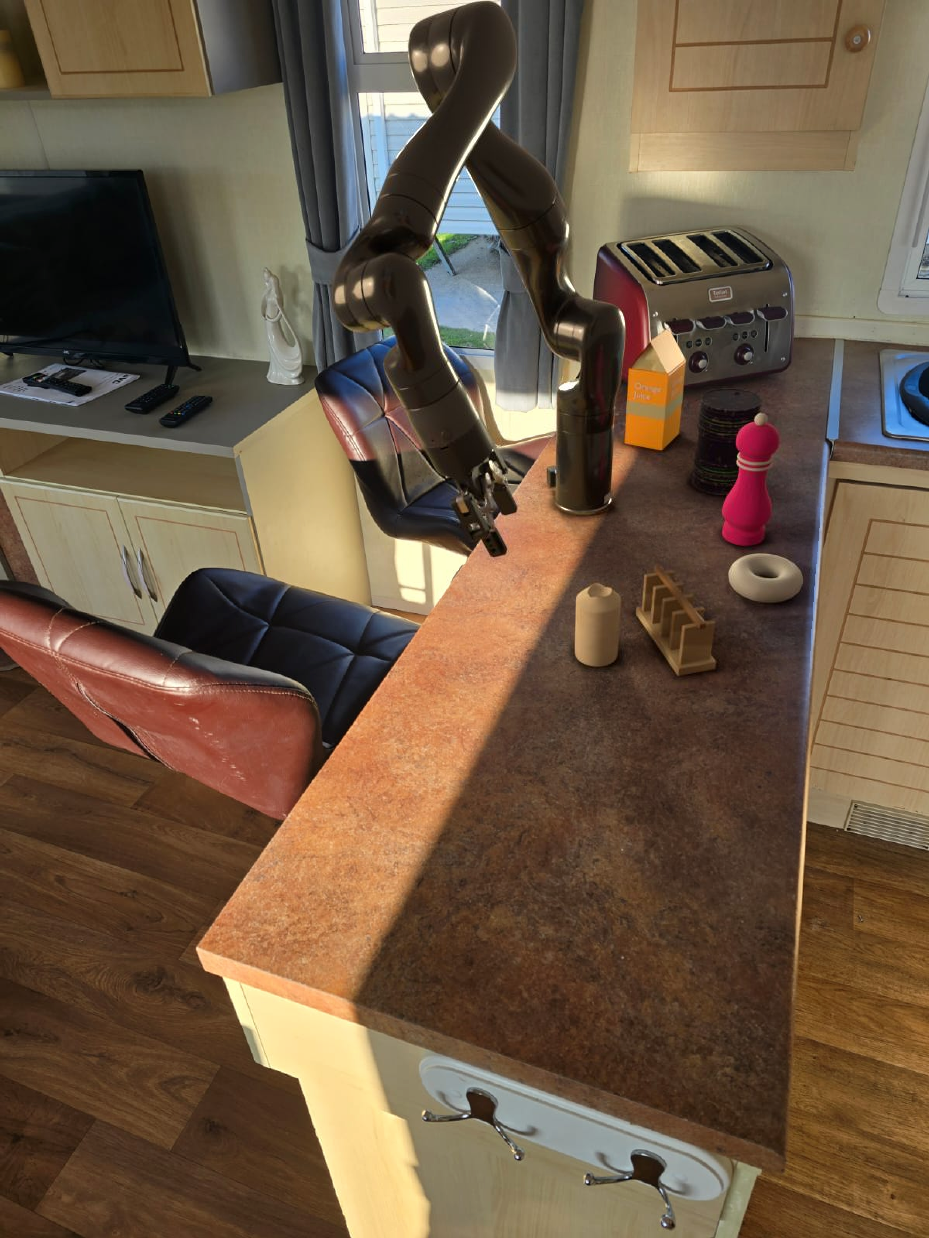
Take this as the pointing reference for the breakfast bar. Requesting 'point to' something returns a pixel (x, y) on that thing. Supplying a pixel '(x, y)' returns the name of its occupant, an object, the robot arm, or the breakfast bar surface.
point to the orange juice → (655, 394)
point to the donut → (754, 587)
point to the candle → (597, 625)
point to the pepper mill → (751, 484)
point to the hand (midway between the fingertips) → (505, 533)
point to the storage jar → (721, 437)
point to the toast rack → (676, 623)
